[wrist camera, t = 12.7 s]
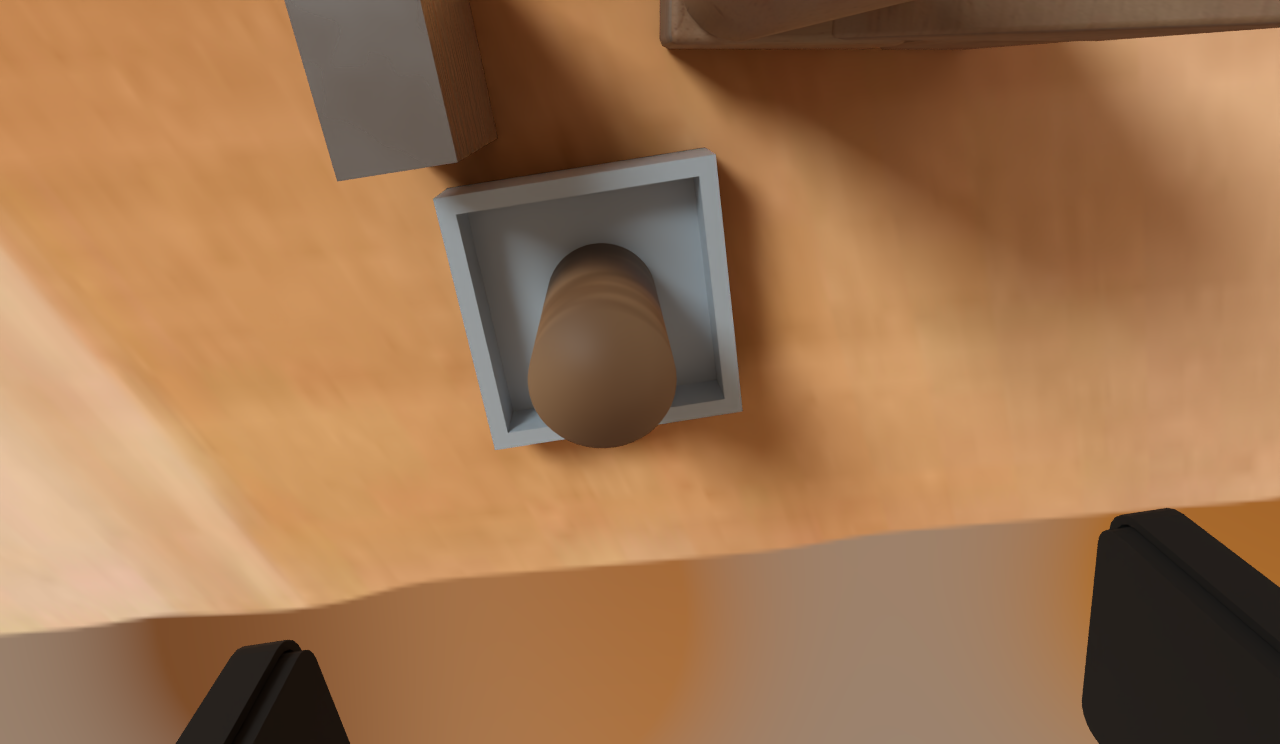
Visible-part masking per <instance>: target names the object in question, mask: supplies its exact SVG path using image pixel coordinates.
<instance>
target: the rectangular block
mask: <svg viewBox="0 0 1280 744" xmlns="http://www.w3.org/2000/svg"><path fill="white" fill-rule="evenodd" d="M285 4H286V7H287V11H288V14H289V18H290V21H291V24H292V28H293V31H294V35H295V38H296V42H297V45H298V48H299V52H300V55H301V59H302V62H303V65H304V69H305V72H306V76H307V79H308V83H309V86H310V89H311V93H312V96H313V100H314V103H315V107H316V110H317V113H318V117H319V120H320V124H321V127H322V130H323V134H324V137H325V141H326V144H327V148H328V151H329V154H330V158H331V161H332V165H333V168H334V172H335V175H336V178H337V181H343V180H349V179H355V178H362V177H368V176H374V175H381V174H387V173H393V172H400V171H406V170H412V169H419V168H425V167H431V166H438V165H444V164H450V163H457V162H459V161H461V160H462V159H464V158H466V157H467V156H469V155H470V154H472V153H474V152H475V151H477V150H479V149H480V148H482V147H484V146H485V145H487V144H488V143H490V142H492V141H493V140H495V139H497V138H498V137H497V132H496V128H495V123H494V118H493V113H492V108H491V104H490V99H489V94H488V89H487V84H486V80H485V75H484V70H483V65H482V61H481V56H480V51H479V46H478V41H477V37H476V32H475V27H474V22H473V17H472V13H471V8H470V3H469V0H285Z"/></svg>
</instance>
